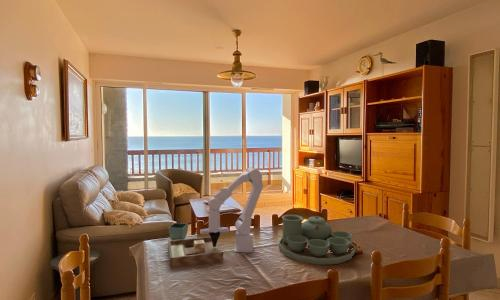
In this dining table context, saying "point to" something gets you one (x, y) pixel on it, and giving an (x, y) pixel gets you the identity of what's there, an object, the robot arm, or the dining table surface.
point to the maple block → (199, 245)
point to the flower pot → (178, 231)
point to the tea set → (314, 241)
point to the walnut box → (192, 252)
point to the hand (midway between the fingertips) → (214, 246)
